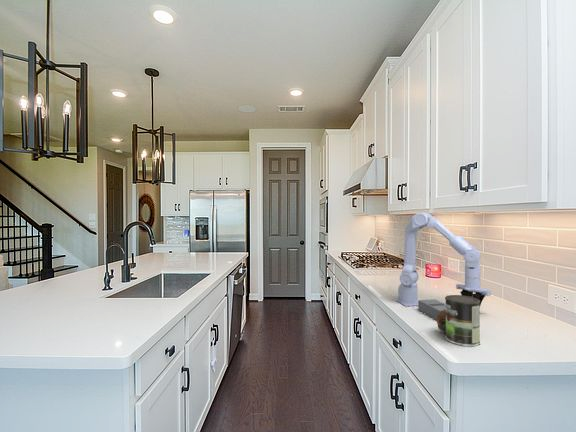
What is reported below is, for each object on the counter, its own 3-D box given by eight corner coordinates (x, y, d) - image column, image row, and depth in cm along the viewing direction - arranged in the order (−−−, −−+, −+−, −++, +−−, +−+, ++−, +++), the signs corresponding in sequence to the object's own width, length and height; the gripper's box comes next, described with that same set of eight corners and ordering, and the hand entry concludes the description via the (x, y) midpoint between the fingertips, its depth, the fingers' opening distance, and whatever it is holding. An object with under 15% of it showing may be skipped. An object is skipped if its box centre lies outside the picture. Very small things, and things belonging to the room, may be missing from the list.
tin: (441, 335, 111) (441, 311, 111) (435, 332, 114) (435, 309, 114) (476, 330, 115) (475, 307, 115) (469, 327, 118) (468, 305, 118)
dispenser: (436, 309, 142) (436, 299, 142) (459, 321, 126) (459, 309, 126) (418, 310, 141) (418, 300, 141) (439, 322, 125) (439, 310, 125)
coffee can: (457, 347, 101) (456, 303, 101) (439, 335, 111) (439, 295, 111) (488, 346, 102) (487, 302, 102) (467, 334, 112) (467, 294, 112)
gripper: (451, 275, 140) (451, 305, 140) (482, 281, 127) (482, 315, 127) (462, 273, 143) (462, 303, 143) (494, 279, 130) (494, 312, 130)
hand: (472, 309), depth 135 cm, fingers open, 3 cm apart
